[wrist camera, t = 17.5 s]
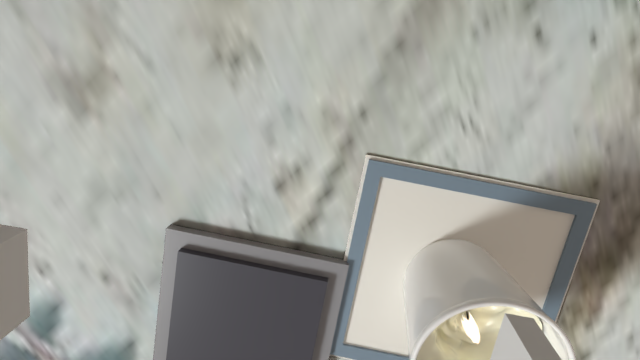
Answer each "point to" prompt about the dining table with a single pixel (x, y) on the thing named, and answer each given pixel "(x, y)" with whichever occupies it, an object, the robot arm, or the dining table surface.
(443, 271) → the candle holder
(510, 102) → the dining table surface
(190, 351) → the ink pad
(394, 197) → the marked square
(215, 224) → the dining table surface
